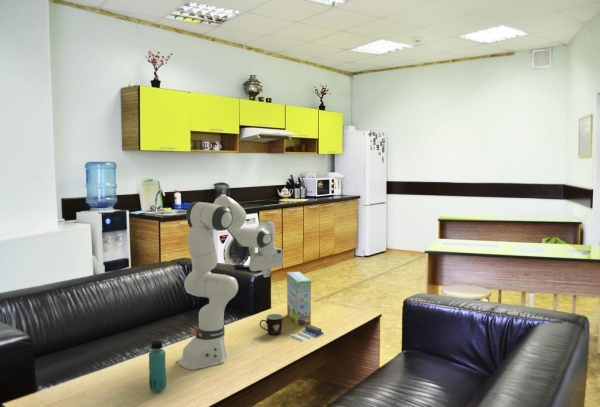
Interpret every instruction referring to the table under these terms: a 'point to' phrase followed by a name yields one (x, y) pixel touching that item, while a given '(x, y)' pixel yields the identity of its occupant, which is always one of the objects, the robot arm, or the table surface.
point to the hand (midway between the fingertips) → (266, 276)
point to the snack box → (299, 298)
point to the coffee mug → (273, 324)
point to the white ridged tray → (304, 336)
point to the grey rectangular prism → (313, 329)
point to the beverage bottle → (157, 367)
